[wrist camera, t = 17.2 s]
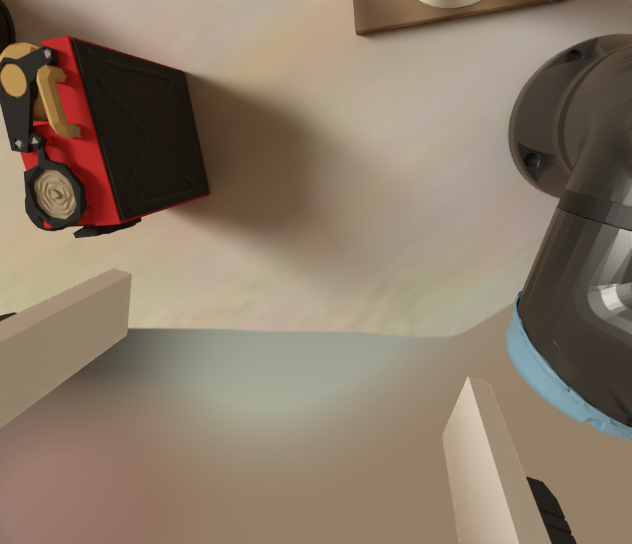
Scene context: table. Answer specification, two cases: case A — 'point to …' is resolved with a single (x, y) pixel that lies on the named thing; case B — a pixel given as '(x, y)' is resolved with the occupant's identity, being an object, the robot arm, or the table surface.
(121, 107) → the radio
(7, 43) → the french press
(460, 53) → the table surface
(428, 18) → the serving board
